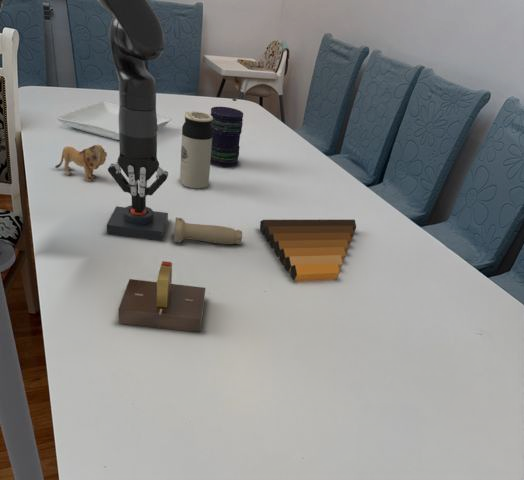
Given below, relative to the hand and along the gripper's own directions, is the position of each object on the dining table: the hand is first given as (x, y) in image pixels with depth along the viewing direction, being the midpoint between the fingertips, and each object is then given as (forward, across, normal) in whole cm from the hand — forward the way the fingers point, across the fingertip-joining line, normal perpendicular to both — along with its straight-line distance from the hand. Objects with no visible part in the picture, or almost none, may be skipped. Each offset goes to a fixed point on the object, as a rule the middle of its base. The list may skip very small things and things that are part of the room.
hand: (139, 210), depth 111 cm
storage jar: (+4, +17, +52) cm, 55 cm away
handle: (+2, +24, -2) cm, 24 cm away
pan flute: (+4, +44, -1) cm, 44 cm away
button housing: (+4, 0, 0) cm, 4 cm away
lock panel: (+4, +10, -32) cm, 34 cm away
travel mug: (+4, +10, +31) cm, 33 cm away
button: (+2, 0, 0) cm, 2 cm away
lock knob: (+1, +10, -32) cm, 33 cm away
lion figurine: (+4, -19, +26) cm, 33 cm away
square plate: (+4, -19, +70) cm, 73 cm away
